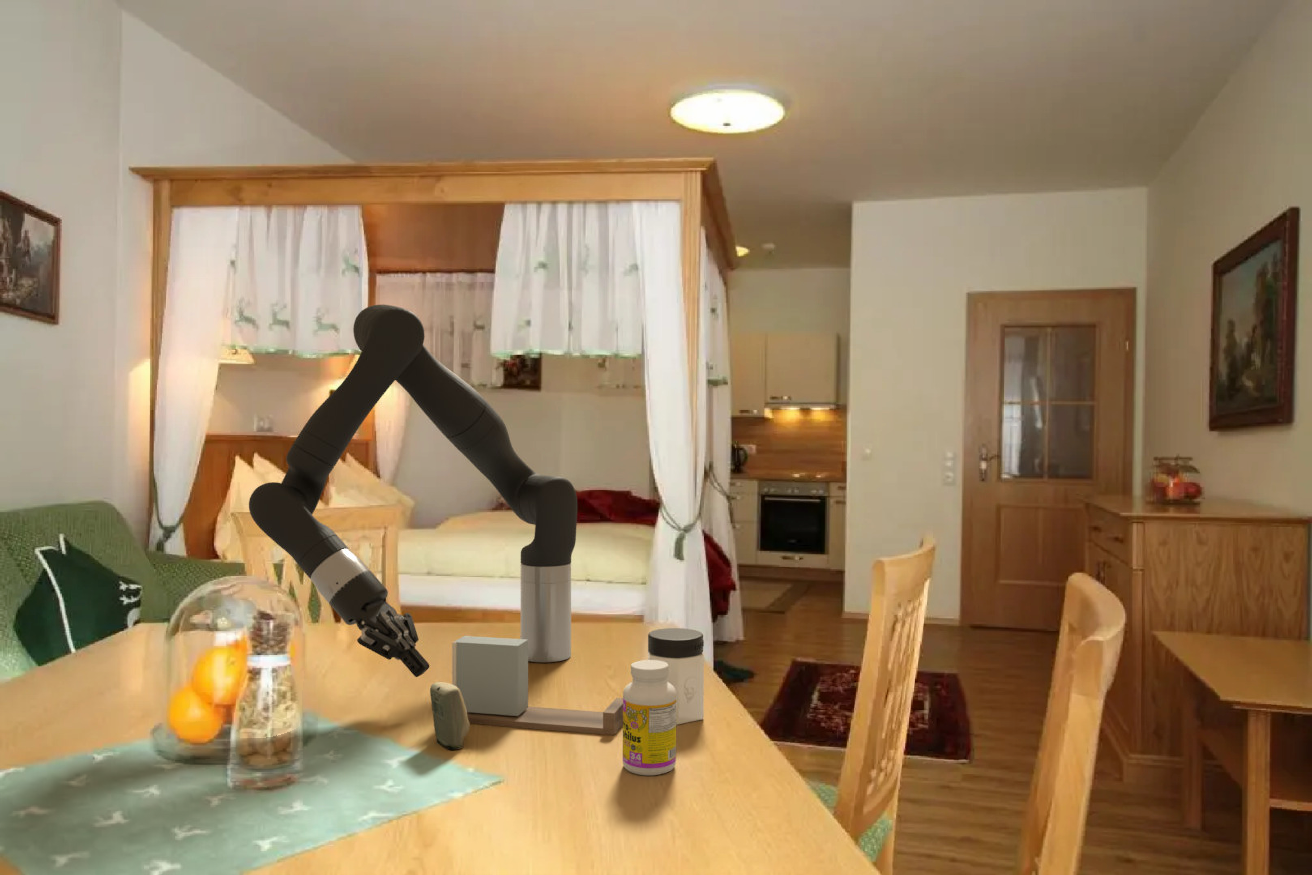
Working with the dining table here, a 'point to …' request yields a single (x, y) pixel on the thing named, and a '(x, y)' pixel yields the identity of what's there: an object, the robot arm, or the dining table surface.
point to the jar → (682, 668)
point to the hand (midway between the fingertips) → (423, 672)
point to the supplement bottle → (649, 720)
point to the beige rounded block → (449, 715)
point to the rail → (559, 719)
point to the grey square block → (491, 674)
